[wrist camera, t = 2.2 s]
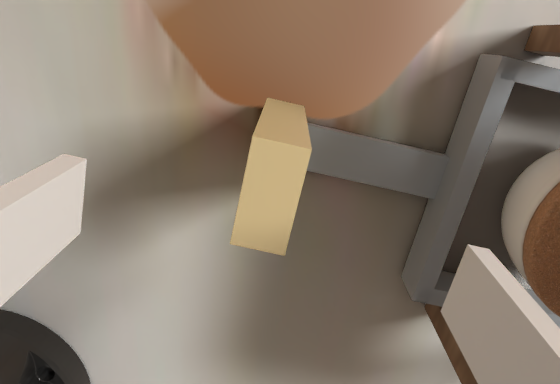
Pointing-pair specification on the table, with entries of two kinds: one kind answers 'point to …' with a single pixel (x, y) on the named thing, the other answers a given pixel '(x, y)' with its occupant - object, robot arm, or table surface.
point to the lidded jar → (536, 227)
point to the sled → (382, 171)
